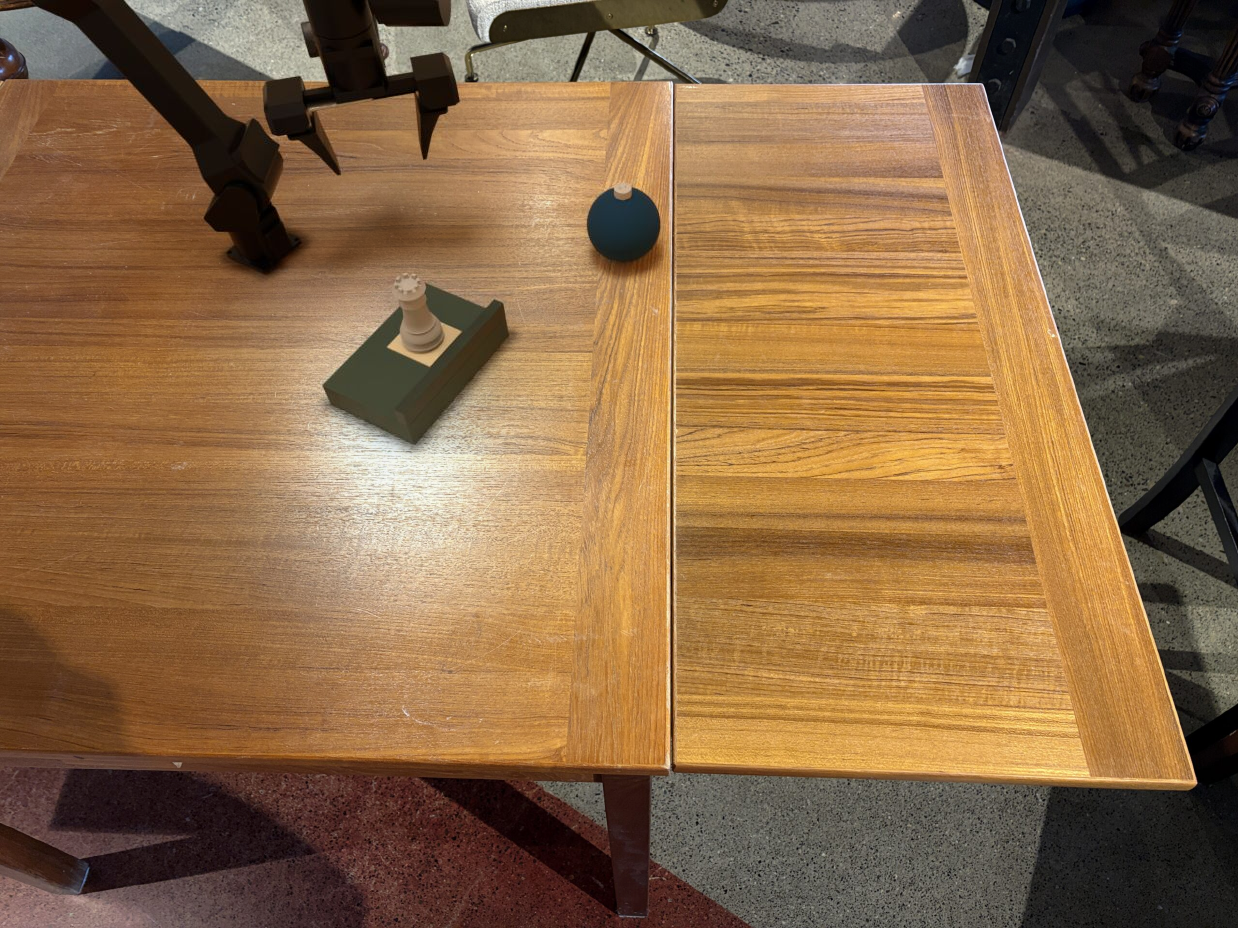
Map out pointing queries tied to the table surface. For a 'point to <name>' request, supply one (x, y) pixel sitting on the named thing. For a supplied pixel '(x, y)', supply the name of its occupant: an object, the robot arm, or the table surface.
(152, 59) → the robot arm
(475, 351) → the green platform
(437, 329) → the rook chess piece
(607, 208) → the christmas ornament
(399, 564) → the table surface
